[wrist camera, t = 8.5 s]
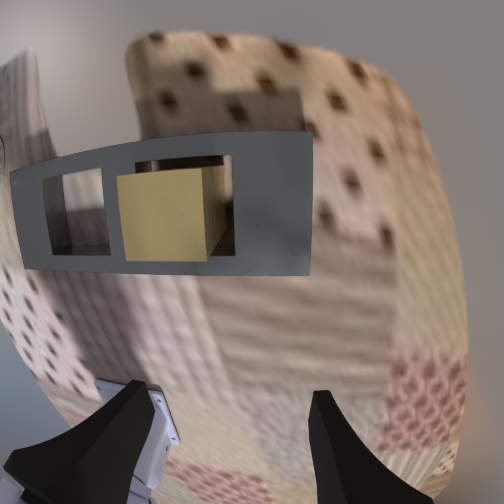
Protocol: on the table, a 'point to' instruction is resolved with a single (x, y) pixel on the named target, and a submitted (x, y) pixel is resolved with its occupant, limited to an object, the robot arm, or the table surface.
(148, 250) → the block
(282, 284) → the table surface
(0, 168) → the beer glass
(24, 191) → the rail
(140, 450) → the robot arm
